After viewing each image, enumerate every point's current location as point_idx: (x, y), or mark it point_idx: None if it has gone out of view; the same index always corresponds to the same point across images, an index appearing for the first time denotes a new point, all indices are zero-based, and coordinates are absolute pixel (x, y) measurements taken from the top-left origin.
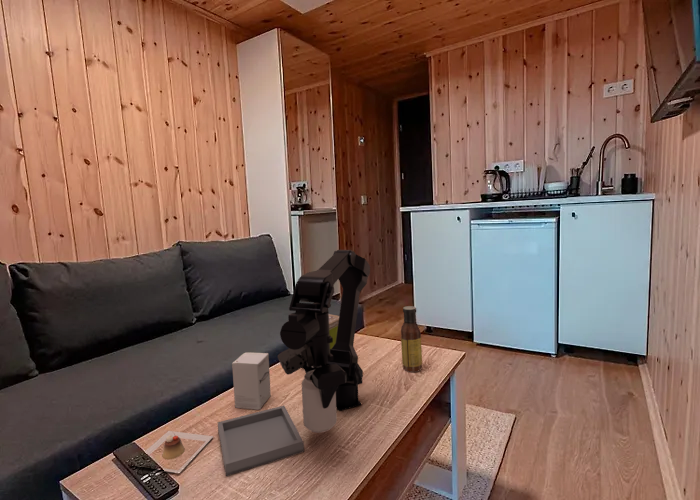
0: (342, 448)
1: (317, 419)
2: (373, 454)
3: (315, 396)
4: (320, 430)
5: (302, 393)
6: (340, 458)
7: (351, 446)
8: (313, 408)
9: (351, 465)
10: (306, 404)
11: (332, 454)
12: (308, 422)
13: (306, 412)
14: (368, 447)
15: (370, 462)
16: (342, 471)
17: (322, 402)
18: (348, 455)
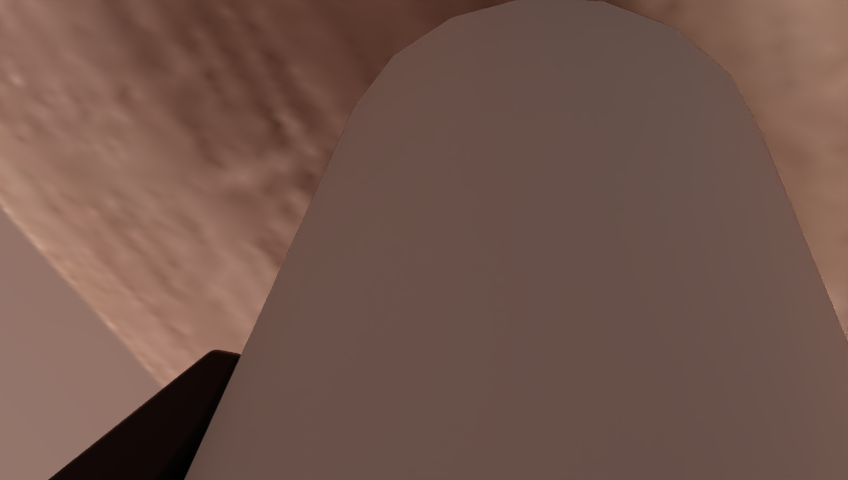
0: (293, 166)
1: (333, 168)
2: (127, 286)
3: (213, 466)
4: (352, 111)
5: (663, 351)
6: (181, 86)
7: (281, 230)
8: (322, 241)
9: (67, 109)
10: (461, 209)
11: (261, 60)
12: (467, 51)
13: (486, 115)
14: (212, 305)
15: (54, 227)
16: (20, 12)
17: (120, 428)
18: (189, 155)
